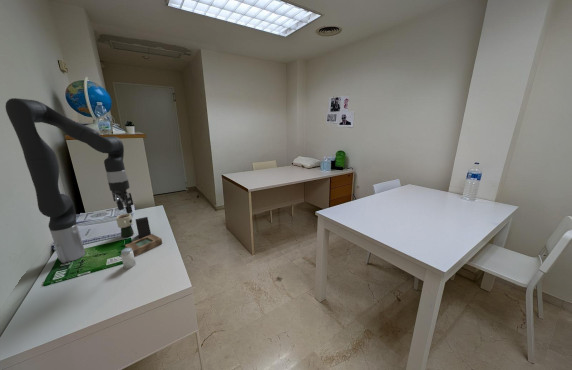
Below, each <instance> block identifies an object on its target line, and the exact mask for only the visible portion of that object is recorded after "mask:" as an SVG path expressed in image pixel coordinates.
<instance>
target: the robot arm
mask: <svg viewBox="0 0 572 370" xmlns="http://www.w3.org/2000/svg"><path fill="white" fill-rule="evenodd" d="M5 112H6V114H7V117H8V119H9V122H10V123H11V125H12V127H13V129H14V131H15V134H16V137H17V138H18V141H19V144H20V147H21V150H22V153H23V157H24V160H25V163H26V167H27V169H28V172H29V174H30V178H31V181H32V184H33V186H34V190H35V195H36V201H37V207H38V210H39V212H40V213H41V214H42V215H44V216H45V217H48V218H49V221H48V228H49V232H50V234H51V238H52V241H53V243H52V244H53V246H54V250H55V252H56V256H57V259H58V260H59V261H60V262H61V263H62V264H65V263H69V262H73V261H76V260H79V259H81V258H82V257H84V256H85V255H86V251H85V247H84V244H83V240H82V237H81V234H80V230H79V227H78V224H77V213H76V208H75V206H74V202H73V200H72V199H71V197H70V196H69V195H67V194H65V193H61V191H60V189H59V187H60V186H59V179H60V166H59V161H58V157H57V155H56V152H55V151H54V150H53V148H52V147H51V146H50V145H49V144H48V143H46V141H45V140H44V139H43V138H42V137H41V136H40V134H39V132H38V130H37V127H36V123H43V124H46V125H50V126H54V127H56V128H58V129H59V130H61V131H62V132H63V133H64V134H65V135H66V136H68V137H71V138H72V139H74V140H76V141H79V142H82V143H84V144H87V145H88V146H89V147H91V148H92V149H94V150H95V151H97V152H99V153H102V154H107V158H105V159H104V160H103V164H104V168H105V172H106V178H107V179H106V180H107V184H108V186H109V191H111V195H112V199H113V202H115V203H116V205H117V211H122V210H125V212H126V214H132V213H133V207H132V206H134V201H133V200H134V199H133V197H132V193H131V192H128V191H127V190H129V189H130V188H131V186H130V183H129V178H128V175H127V174H128V173H127V172H126V168H125V163H124V155H125V152H124V151H125V148H124V144H123V141H122V140H121V139H120V138H119V137H117V136H102V135H100V133H99V131H97V130H96V129H94V128H91V127H90V126H86V125H84V124H81V123H79V122H77V121H75V120H73V119H71V118H68V117H67V116H66V115H63V114H62V113H60V112H58V111H56V110H55V109H53V108H52V107H50V106H49V105H47V104H44V102H41V101H38V100H34V99H27V98H26V99H25V98H17V97H16V98H14V97H12V98H9V99H7V101H6V102H5ZM124 208H125V209H124Z"/></svg>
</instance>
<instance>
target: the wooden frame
mask: <svg viewBox="0 0 572 370" xmlns="http://www.w3.org/2000/svg"><path fill="white" fill-rule="evenodd" d="M162 244H163V240H162V237H159V236H158V235H155V234H153V233H151V235H148V236H146V237H143V238H141V239H136V240H134V241H131V242H129V243H127V244H125V245H124V247H125V248H132V250H133V254H134V257H136V256H137V257H138V256H139V255H140V254H143V253H146V252H147V251H150V250H151V249H154V248H156V247H159V246H160V245H162ZM125 248H124V249H125Z"/></svg>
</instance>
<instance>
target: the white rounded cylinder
mask: <svg viewBox="0 0 572 370" xmlns="http://www.w3.org/2000/svg"><path fill="white" fill-rule="evenodd" d="M120 252H121V253H120V256H121V261H122V265H123V268H124V269H131V268H133V267H134V266H136V265H137V263H136V259H135V256H134V254H133V250H132V248H123V249H122V250H120Z"/></svg>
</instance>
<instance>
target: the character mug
mask: <svg viewBox="0 0 572 370" xmlns="http://www.w3.org/2000/svg"><path fill="white" fill-rule="evenodd" d="M115 219H116V223H117V227H118V228H119V229H120V236H121V237H122V238H123V237H124V238H125V237H131V236H133V235H134V234H135V233H134V229H133V227H132V225H133V223H134V222H133V218H132V213H130V214H127V213H123V214H119V215H117V216H116V217H115Z"/></svg>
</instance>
